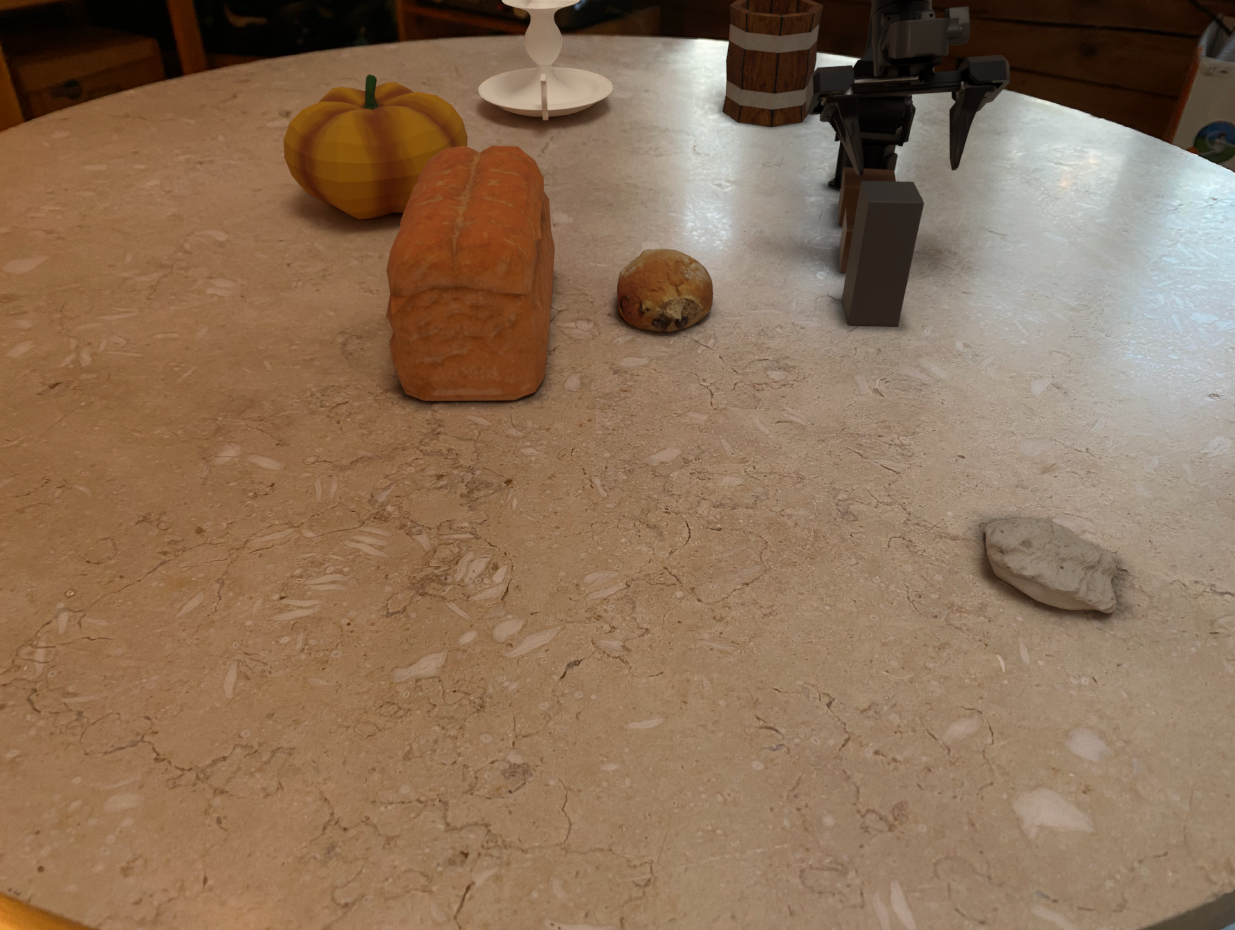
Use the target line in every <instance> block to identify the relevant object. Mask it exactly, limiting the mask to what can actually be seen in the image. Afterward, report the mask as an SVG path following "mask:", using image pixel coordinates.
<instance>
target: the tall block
mask: <svg viewBox="0 0 1235 930" xmlns="http://www.w3.org/2000/svg"><path fill="white" fill-rule="evenodd" d="M924 205H925V202H924V199H923V198H922V196H921V194H920V192H919V189H918V188H917V186H916V184H915V182H914V181H902V180H901V181H897V180H896V181H861V185H860V191H859V197H858V203H857V209H856V215H855V221H854V228H853V234H852V240H851V246H850V252H849V258H848V264H847V270H846V273H845V276H844V283H843V289H842V295H841V300H840V301H841V304H842V308H843V312H844V315H845V318H846V323H847V325H848V326H868V327H869V326H872V327H873V326H874V327H876V326H877V327H881V326H882V327H899V323H900V319H901V314H902V311H903V305H904V300H905V296H906V291H907V286H908V282H909V277H910V273H911V268H912V262H913V257H914V254H915V247H916V243H917V239H918V233H919V230H920V229H919V228H920V226H921V225H920V224H921V219H922V215H923V211H924V210H923V209H924Z"/></svg>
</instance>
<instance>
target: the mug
mask: <svg viewBox="0 0 1235 930" xmlns="http://www.w3.org/2000/svg"><path fill="white" fill-rule="evenodd" d="M728 8H729V35H728V45H727V52H726V57H725V75H726V76H725V78H726V79H725V80H726V81H725V96H724V101H723V106H722V113H723V114H725V115H726V116H728V117H729V118H731V119H732V120H734V121H735V122H737V123H739V124H740V123H741V124H746V125H747V124H748V125H754V126H762V127H767V128H773V127H780V126H788V125H794V124H801V123H803V122H804V120H805V119H806V118H807V117H808V116H809V114H807V113H806V89H807V87H808V84H809V81H810V78H811V75H812V73H813V72H814V71H815V70H816V66H817V65H816V64H817V58H818V57H817V55H818V37H819V29H820V22H821V17H822V14H823V10H824V5H823V4H821V3H819V2H816V1H813V0H735V1H733V2H732V3H731V4H730V5H728Z"/></svg>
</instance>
